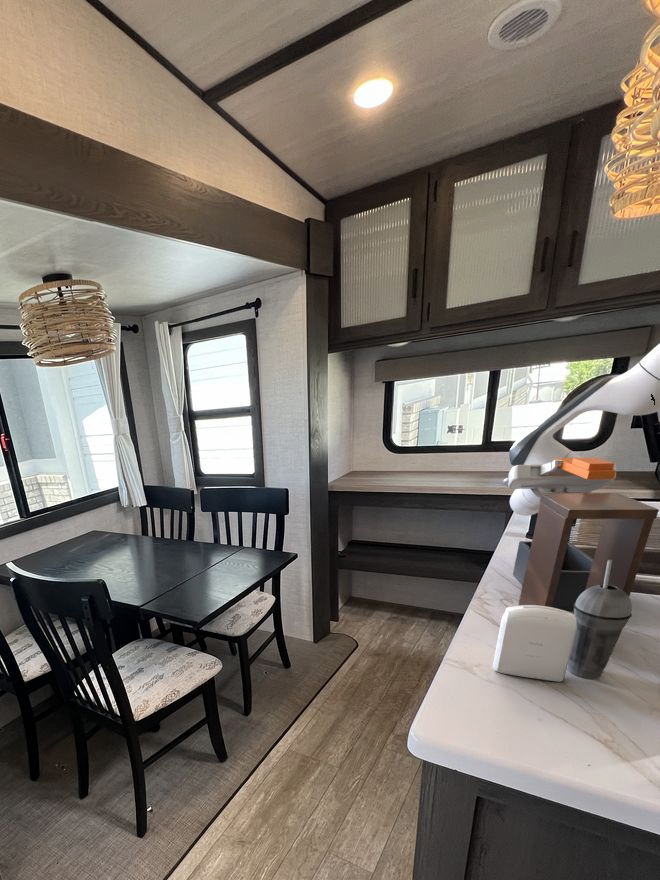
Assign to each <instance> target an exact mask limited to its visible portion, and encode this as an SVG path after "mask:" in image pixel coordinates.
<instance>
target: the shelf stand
mask: <svg viewBox="0 0 660 880" xmlns="http://www.w3.org/2000/svg"><path fill="white" fill-rule="evenodd" d="M540 502H541V503H540V507H539V511H538V513H537V516H536V521H535V526H534V530H533V535H532V544H531V549H530V553H529V558H528V563H527V567H526V572H525V576H524V581H523V586H522V585H521V591H520V596H519V599H518V604H517V606H523V605H536V606H546V607H552V606H553V601H554V597H555V593H556V589H557V585H558V581H559V577H560V573H561V569H562V565H563V561H564V557H565V553H566V549H567V545H568V542H570V536H571V534H572V533H571V532H572V528H573V524H574V521H575V520H595V519H596V520H602V519H603V523H602V528H601V531H600V534H599V538H598V541H597V545H596V549H595V552H594V557H593V558H592V559H593V563H592V567H591V570H590V574H589V578H588V581H587V585H586V589H585V590H587V589H588V588H590V587H593V586H596V585H603V584H604V579H605V573H606V568H607V562H608V560H612V564H611V570H610V575H609V581H608V585H612V586H615V587H618V588H620V589H621V590H623V591H624V592H625V593H626V594H627V595H628V596H629V597H631V593H632V590H633V586H634V584H635V580H636V577H637V574H638V571H639V569H640V565H641V561H642V560H643V559H642V558H643V555H644V552H645V549H646V546H647V543H648V539H649V537H650V533H651V530H652V527H653V525H654V524H653V523H654V520H656V519H657V518H658V514H659V510H660V509H659V508H657V507H653V506H651V505H650V504H646V503H644V502H641V501H639V500H636V499H634V498H631V497H629V496H626V495H624V494H621V493H619V492H596V493H595V492H591V493H573V494H541V497H540Z"/></svg>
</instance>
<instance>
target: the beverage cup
mask: <svg viewBox="0 0 660 880" xmlns="http://www.w3.org/2000/svg"><path fill="white" fill-rule="evenodd" d="M611 564H612V560H608V562H607V568H606V573H605V579H604V584H603V585H596V586H593V587H590V588H588V589H587V590H585V591H584V592H583V593H581V594H580V596H579V597H578V598H577V600H576V603H575V604H574V611H573V614H575V617H576V621H577V622H576V623H577V631H576V634H575V638H574V642H573V646H572V650H571V654H570V658H569V661H568V665H567V669H566V670H567V671H568V672H569V673H570V674H572V675H573V676H575V677H579V678H583V679H586V680H587V679H588V680H596V679H600V677H601V676H602V673H603V672H604V670H605V669H606V667H607V665H608V662H609V660H610V658H611V656H612V654H613V651H614V649H615V647H616V645H617V642H618V641H619V638H620V636H621V634H622V631H623V630H624V628H625V627H626V626H627V624H628V622H629V621H630V619H631V618H632V617H633V613H632V612H633V605H632V601H631V598H630V596H628V595H627V594H626V593H625V592H624V591H623V590H621V589H620V588H618V587H615V586H612V585H608V581H609V575H610V570H611Z"/></svg>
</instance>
